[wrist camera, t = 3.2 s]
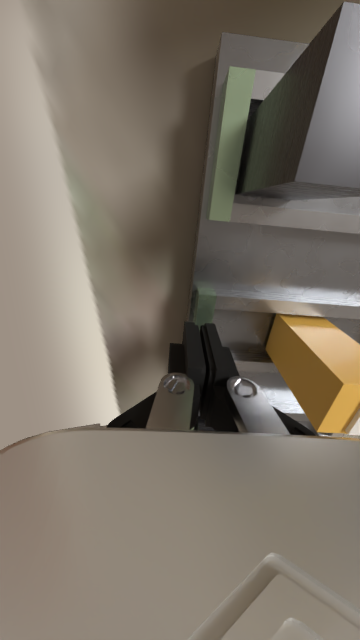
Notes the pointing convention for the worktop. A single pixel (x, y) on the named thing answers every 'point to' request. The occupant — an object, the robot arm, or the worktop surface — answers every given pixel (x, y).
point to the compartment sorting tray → (280, 196)
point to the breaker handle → (319, 370)
